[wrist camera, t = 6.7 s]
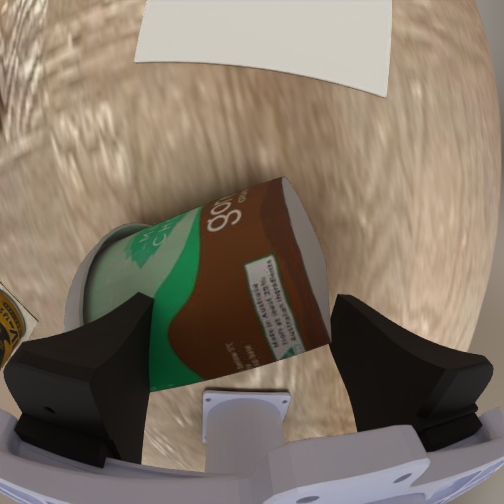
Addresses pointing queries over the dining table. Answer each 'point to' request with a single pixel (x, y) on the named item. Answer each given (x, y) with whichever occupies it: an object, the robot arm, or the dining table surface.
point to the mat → (275, 37)
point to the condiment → (13, 325)
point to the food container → (214, 285)
